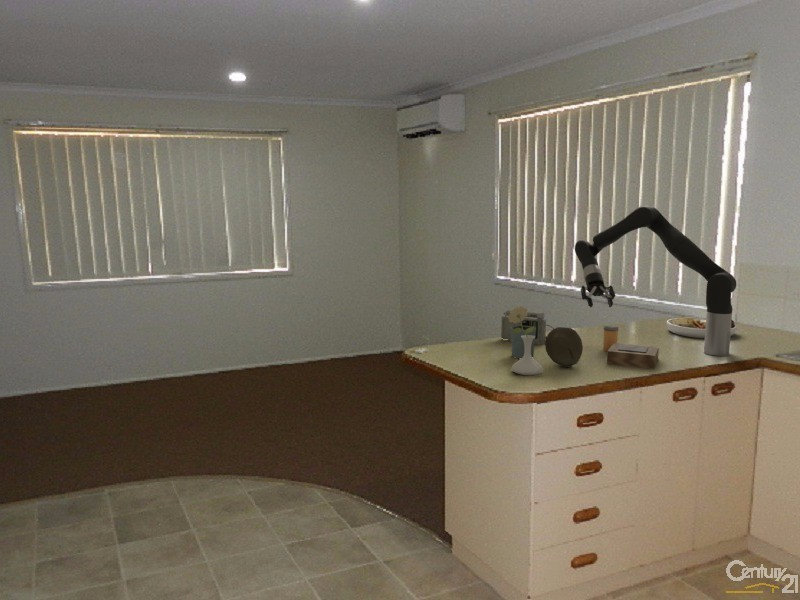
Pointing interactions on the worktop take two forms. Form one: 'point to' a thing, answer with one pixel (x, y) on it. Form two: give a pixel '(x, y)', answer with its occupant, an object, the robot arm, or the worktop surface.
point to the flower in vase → (526, 362)
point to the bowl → (692, 327)
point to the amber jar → (610, 336)
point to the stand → (633, 355)
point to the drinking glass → (521, 341)
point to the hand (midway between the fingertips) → (601, 306)
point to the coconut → (564, 346)
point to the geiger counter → (536, 322)
